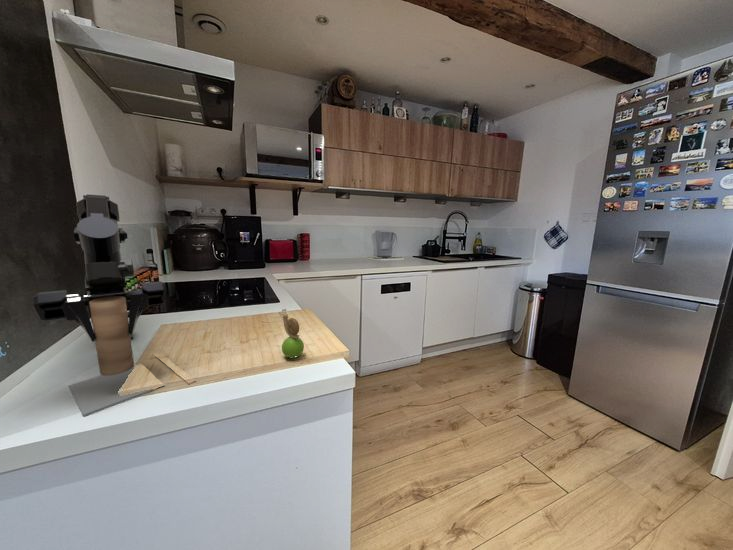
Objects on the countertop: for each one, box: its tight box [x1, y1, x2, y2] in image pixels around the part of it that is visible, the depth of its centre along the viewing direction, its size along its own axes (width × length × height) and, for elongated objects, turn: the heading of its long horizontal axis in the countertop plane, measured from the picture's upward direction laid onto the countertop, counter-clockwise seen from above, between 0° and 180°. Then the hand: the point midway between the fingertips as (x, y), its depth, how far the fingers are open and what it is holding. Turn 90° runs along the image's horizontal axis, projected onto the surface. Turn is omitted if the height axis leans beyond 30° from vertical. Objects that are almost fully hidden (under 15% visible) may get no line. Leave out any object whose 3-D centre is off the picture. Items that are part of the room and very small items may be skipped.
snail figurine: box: [281, 308, 305, 358], centre depth 71 cm, size 5×6×12 cm
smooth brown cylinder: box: [89, 296, 135, 376], centre depth 54 cm, size 5×5×14 cm
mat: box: [68, 364, 155, 418], centre depth 57 cm, size 14×12×1 cm
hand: (112, 336), depth 53 cm, fingers closed on smooth brown cylinder, 5 cm apart
